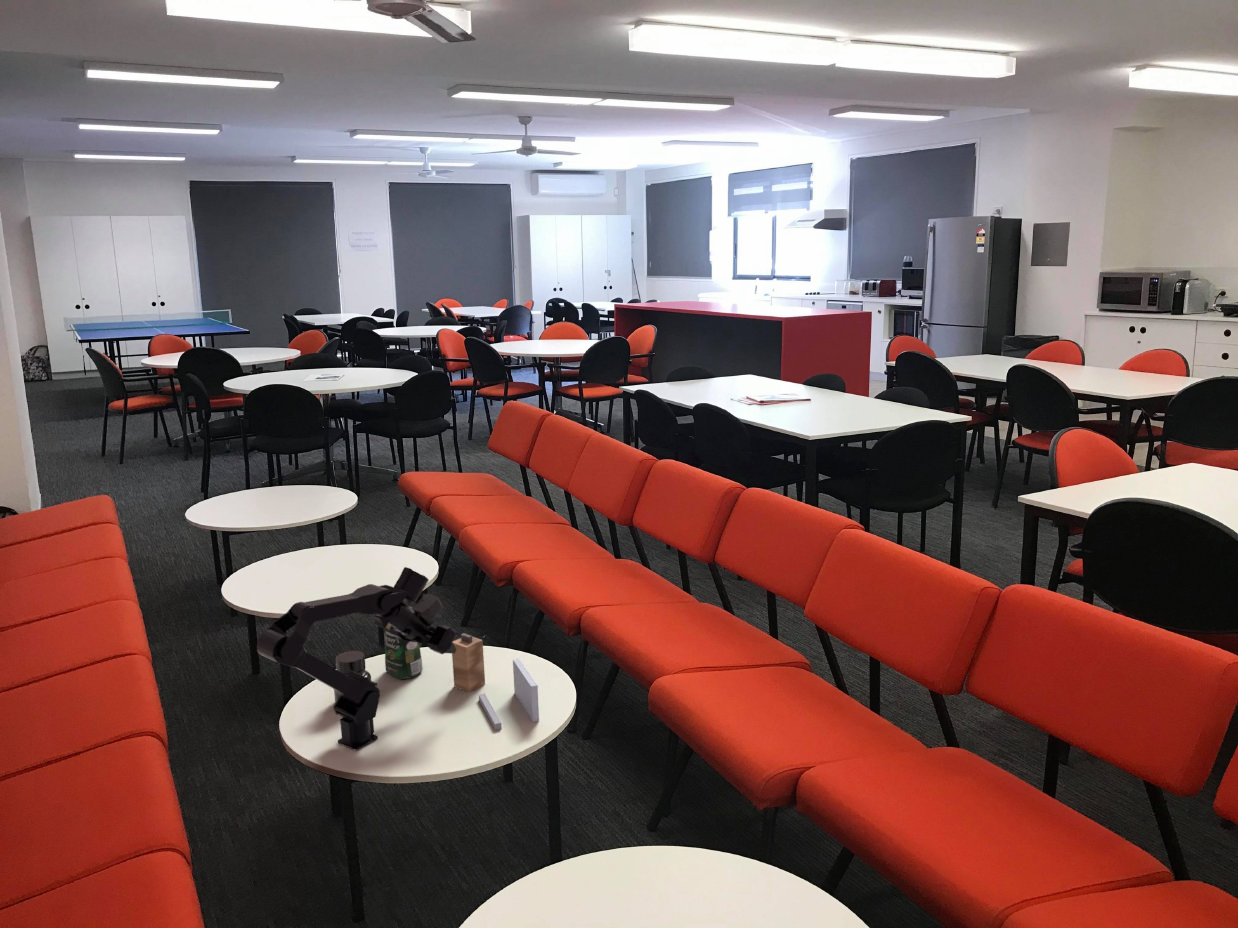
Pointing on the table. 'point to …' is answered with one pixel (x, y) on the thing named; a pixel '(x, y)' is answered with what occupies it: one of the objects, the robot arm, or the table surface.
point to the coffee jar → (401, 656)
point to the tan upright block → (468, 663)
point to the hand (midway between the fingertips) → (442, 646)
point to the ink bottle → (351, 665)
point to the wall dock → (524, 692)
